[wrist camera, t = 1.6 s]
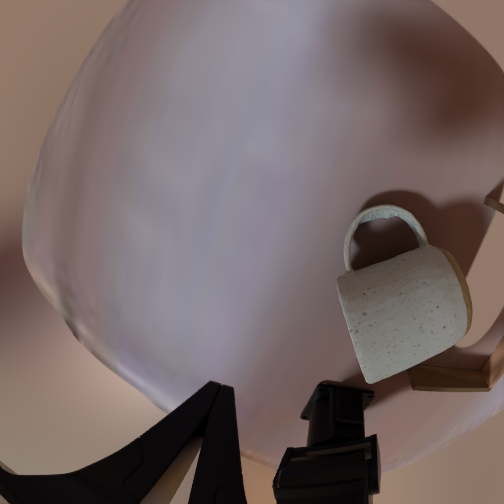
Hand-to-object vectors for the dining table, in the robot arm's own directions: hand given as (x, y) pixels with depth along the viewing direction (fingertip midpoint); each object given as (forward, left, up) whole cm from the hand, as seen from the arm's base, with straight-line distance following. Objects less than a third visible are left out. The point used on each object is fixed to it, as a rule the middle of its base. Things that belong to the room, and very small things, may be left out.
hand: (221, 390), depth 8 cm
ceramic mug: (0, -9, -13) cm, 16 cm away
